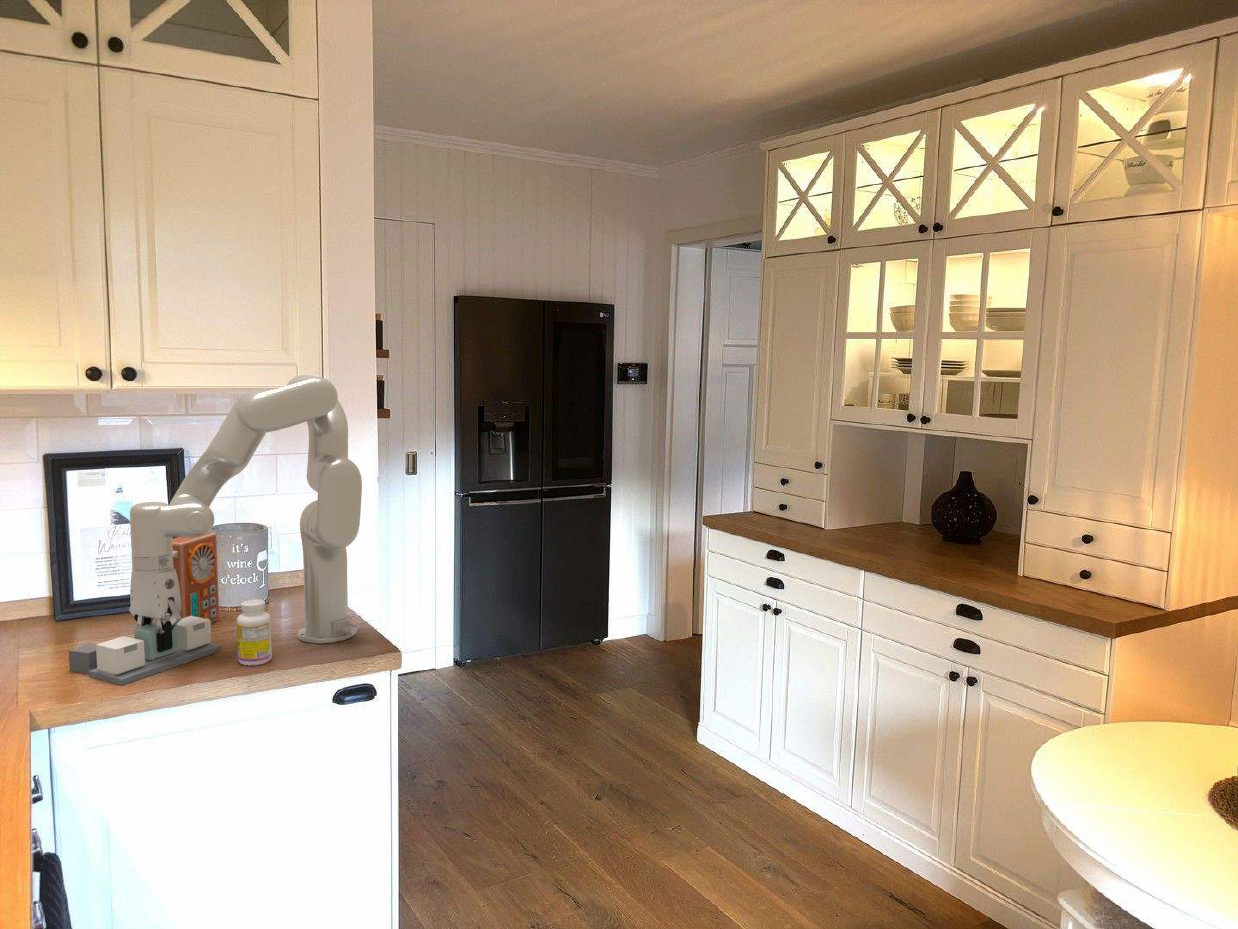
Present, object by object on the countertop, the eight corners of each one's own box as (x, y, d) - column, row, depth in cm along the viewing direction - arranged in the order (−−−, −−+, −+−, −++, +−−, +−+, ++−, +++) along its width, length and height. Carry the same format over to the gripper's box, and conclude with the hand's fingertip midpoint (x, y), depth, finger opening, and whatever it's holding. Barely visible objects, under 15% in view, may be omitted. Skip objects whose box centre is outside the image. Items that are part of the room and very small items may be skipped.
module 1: (110, 666, 184) (108, 645, 184) (89, 674, 179) (88, 653, 179) (90, 663, 185) (89, 642, 185) (69, 672, 181) (68, 650, 180)
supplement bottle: (244, 655, 192) (242, 597, 190) (276, 655, 192) (274, 597, 191) (233, 666, 185) (231, 606, 184) (265, 666, 186) (264, 606, 184)
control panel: (225, 618, 217) (184, 637, 203) (200, 616, 219) (157, 634, 204) (222, 532, 215) (180, 545, 200) (197, 530, 216) (153, 543, 201)
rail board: (220, 650, 194) (219, 645, 194) (122, 685, 174) (122, 679, 174) (187, 643, 199) (187, 638, 198) (88, 676, 178) (88, 670, 178)
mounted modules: (211, 642, 195) (210, 619, 194) (117, 674, 175) (116, 649, 174) (191, 637, 197) (190, 615, 197) (97, 668, 177) (95, 644, 177)
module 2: (177, 651, 188) (177, 623, 187) (150, 660, 182) (149, 631, 181) (163, 647, 190) (162, 620, 189) (135, 656, 184) (134, 628, 183)
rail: (208, 644, 195) (208, 641, 195) (114, 676, 175) (114, 673, 175) (194, 641, 197) (194, 638, 197) (100, 672, 177) (99, 669, 177)
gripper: (197, 563, 183) (200, 649, 186) (141, 554, 190) (145, 636, 193) (165, 571, 177) (168, 660, 179) (108, 561, 184) (112, 646, 186)
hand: (156, 647), depth 186 cm, fingers closed on module 2, 4 cm apart
